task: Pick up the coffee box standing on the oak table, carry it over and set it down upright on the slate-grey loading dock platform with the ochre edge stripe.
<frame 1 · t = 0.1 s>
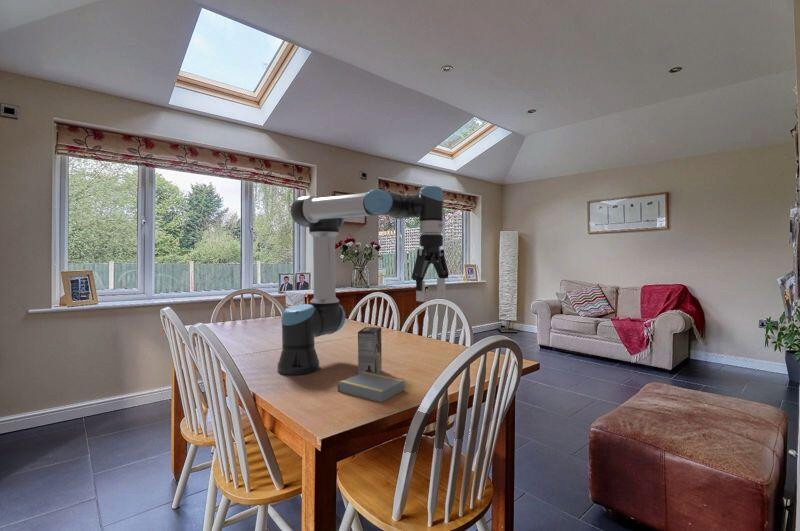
hand: (431, 299, 126), 28 cm above the table, fingers open, 13 cm apart
coffee box: (370, 374, 137), on the table
dock: (372, 390, 120), on the table
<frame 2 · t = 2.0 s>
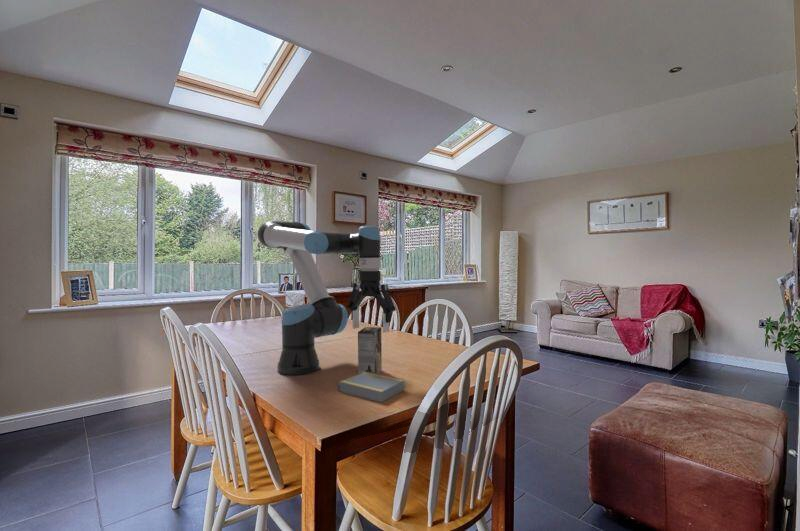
hand: (370, 329, 136), 16 cm above the table, fingers open, 13 cm apart
nothing on the table moved.
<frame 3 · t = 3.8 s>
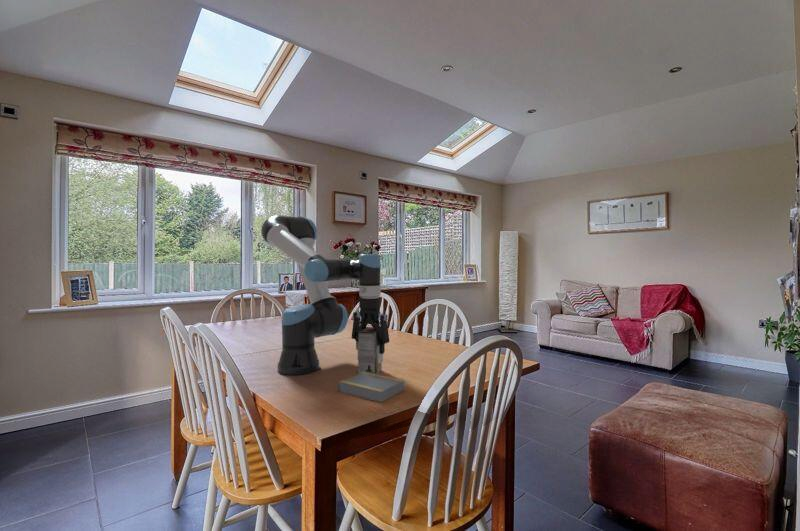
hand: (370, 360, 137), 5 cm above the table, fingers closed on coffee box, 8 cm apart
coffee box: (370, 374, 137), on the table, touching gripper
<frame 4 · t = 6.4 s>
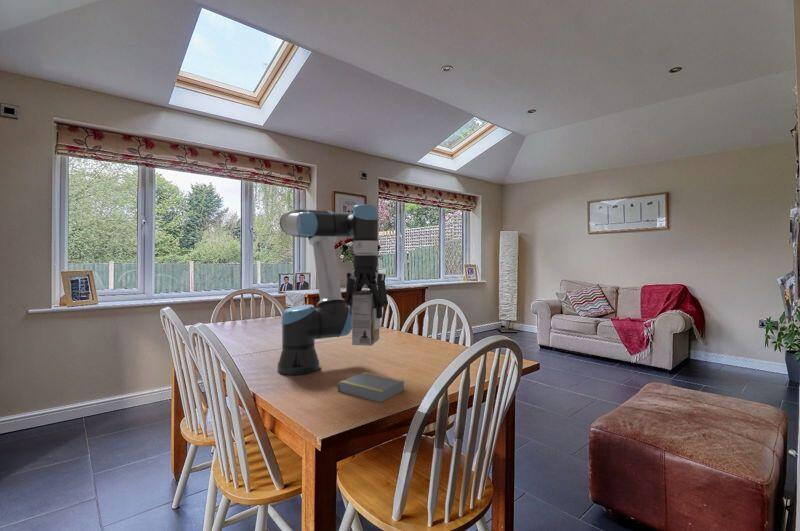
hand: (365, 327, 120), 20 cm above the table, fingers closed on coffee box, 8 cm apart
coffee box: (366, 342, 120), point 15 cm above the table, touching gripper
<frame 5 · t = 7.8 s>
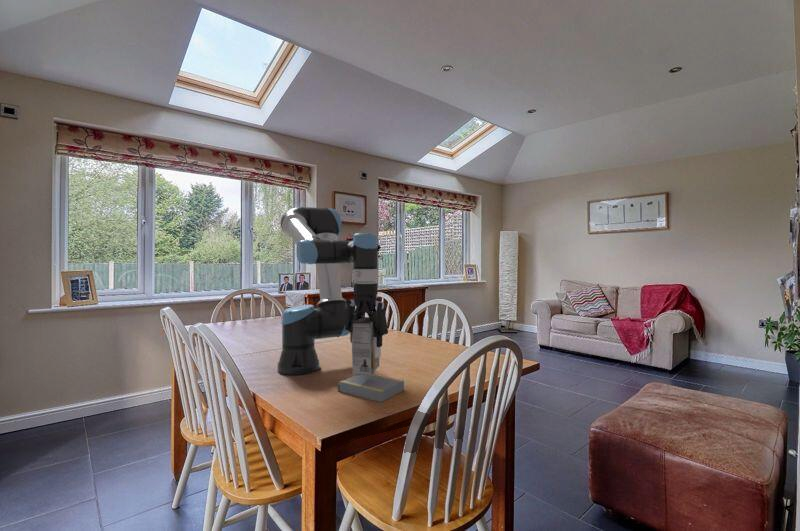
hand: (366, 355, 120), 11 cm above the table, fingers closed on coffee box, 8 cm apart
coffee box: (366, 370, 120), point 6 cm above the table, touching gripper
when the fingers open (9 cm above the table, at t = 9.1 s): coffee box stays where it is, resting on dock.
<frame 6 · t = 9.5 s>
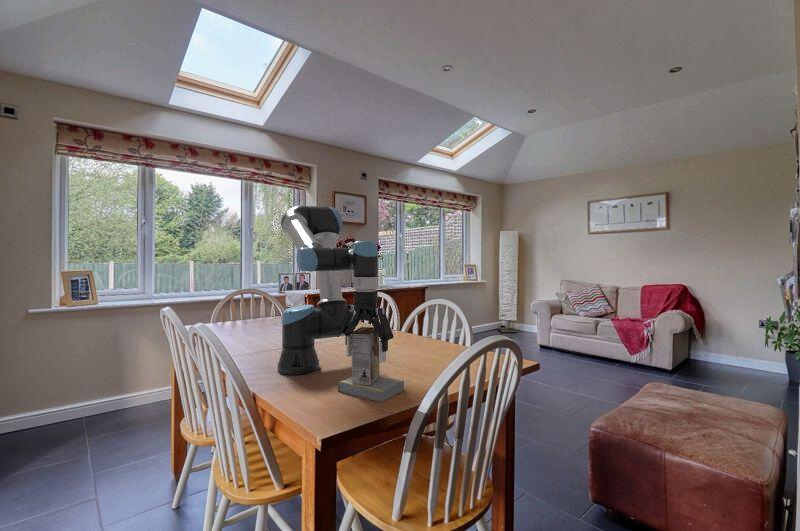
hand: (366, 358, 120), 10 cm above the table, fingers open, 12 cm apart
coffee box: (366, 380, 120), point 3 cm above the table, touching dock
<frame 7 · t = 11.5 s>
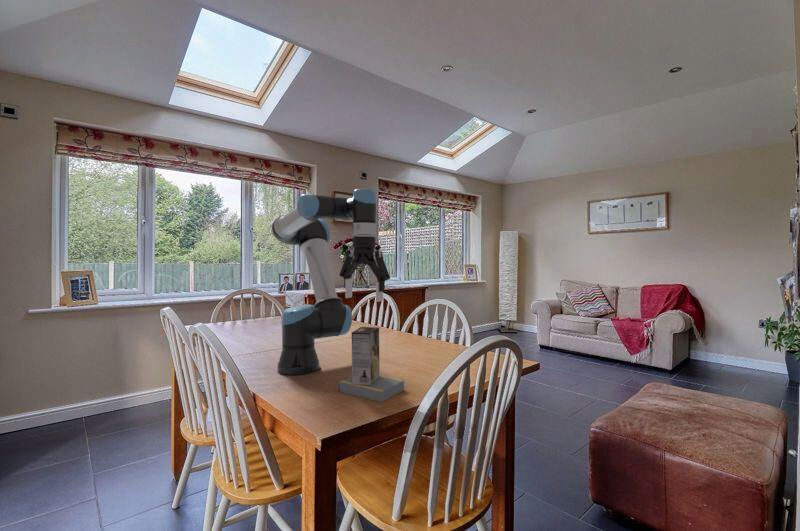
hand: (363, 299, 129), 28 cm above the table, fingers open, 13 cm apart
nothing on the table moved.
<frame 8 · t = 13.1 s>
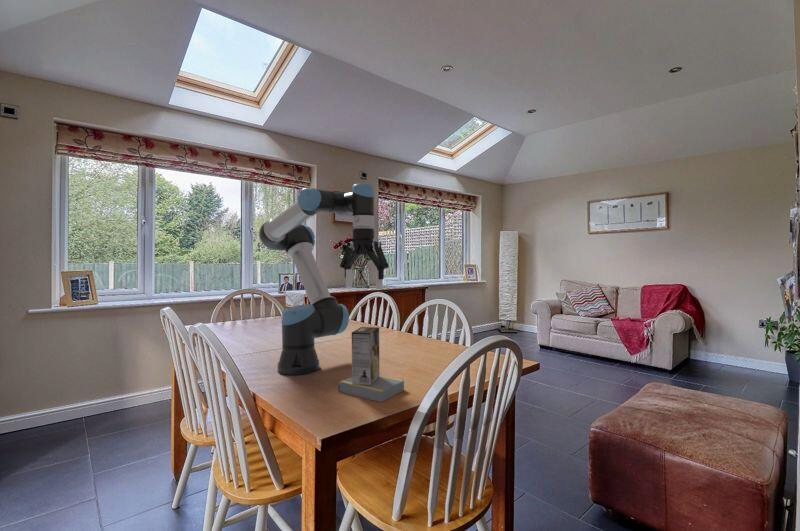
hand: (363, 288, 136), 31 cm above the table, fingers open, 13 cm apart
nothing on the table moved.
at the end: coffee box inside the target area on the dock (2.1 cm from its centre), point 2.9 cm above the dock's base; coffee box tilted 0°; the gripper is holding nothing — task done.
